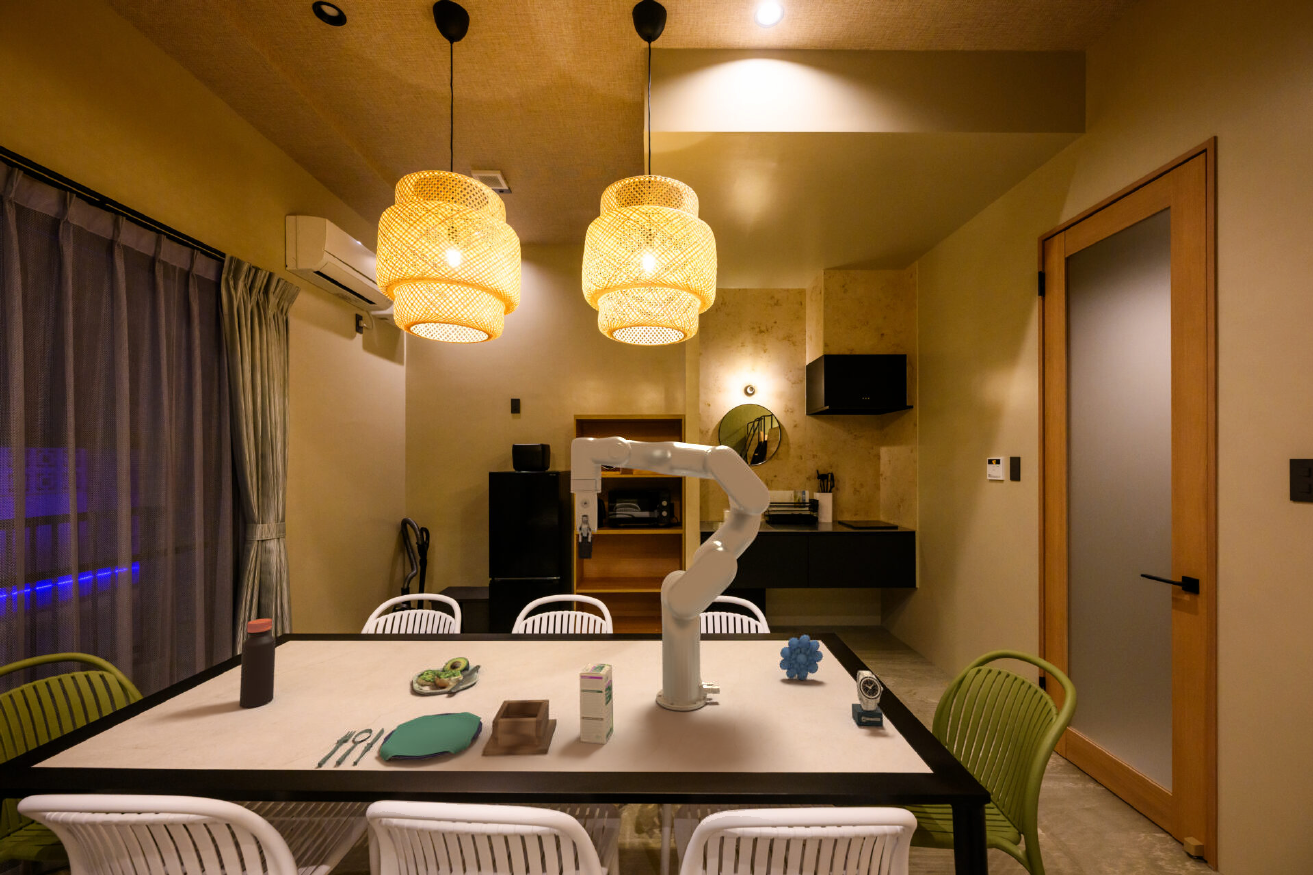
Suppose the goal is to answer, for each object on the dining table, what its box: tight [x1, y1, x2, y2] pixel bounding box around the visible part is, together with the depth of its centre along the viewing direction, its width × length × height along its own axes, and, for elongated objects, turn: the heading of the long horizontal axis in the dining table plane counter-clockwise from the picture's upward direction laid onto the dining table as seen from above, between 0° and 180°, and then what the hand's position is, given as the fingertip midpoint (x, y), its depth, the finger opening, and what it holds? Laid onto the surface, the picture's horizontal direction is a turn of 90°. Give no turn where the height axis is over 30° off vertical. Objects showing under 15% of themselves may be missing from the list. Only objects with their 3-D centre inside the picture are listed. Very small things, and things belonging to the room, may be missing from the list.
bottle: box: [239, 618, 276, 709], centre depth 133 cm, size 7×7×20 cm
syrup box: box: [579, 663, 614, 745], centre depth 115 cm, size 6×6×14 cm
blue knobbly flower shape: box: [779, 634, 824, 681], centre depth 146 cm, size 12×7×12 cm, turn 84°
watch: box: [851, 670, 884, 728], centre depth 121 cm, size 6×8×11 cm
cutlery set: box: [317, 711, 483, 768], centre depth 113 cm, size 20×30×2 cm, turn 97°
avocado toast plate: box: [412, 656, 482, 696], centre depth 144 cm, size 19×18×5 cm
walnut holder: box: [481, 698, 557, 757], centre depth 114 cm, size 13×13×6 cm
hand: (585, 555), depth 133 cm, fingers open, 9 cm apart
